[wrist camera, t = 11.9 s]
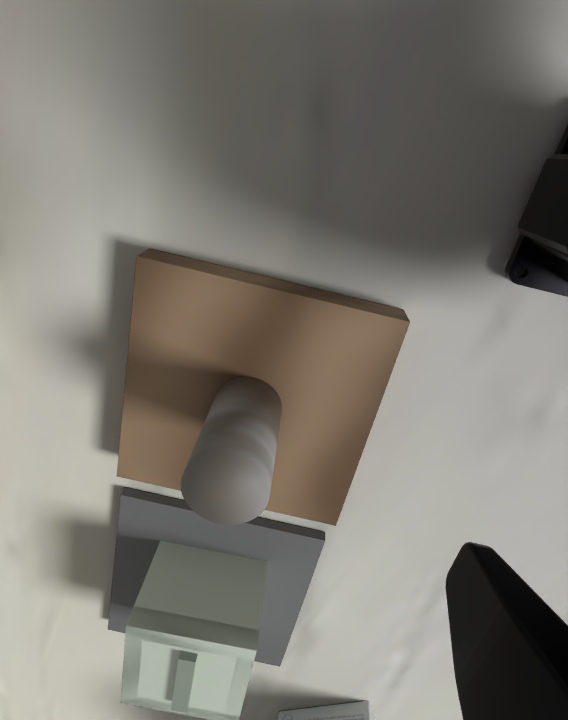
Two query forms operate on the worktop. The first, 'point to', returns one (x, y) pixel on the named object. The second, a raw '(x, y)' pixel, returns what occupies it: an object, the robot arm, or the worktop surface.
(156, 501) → the mat
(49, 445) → the worktop surface
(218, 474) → the post stand
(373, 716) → the light bulb box
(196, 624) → the sage cube with ridge
